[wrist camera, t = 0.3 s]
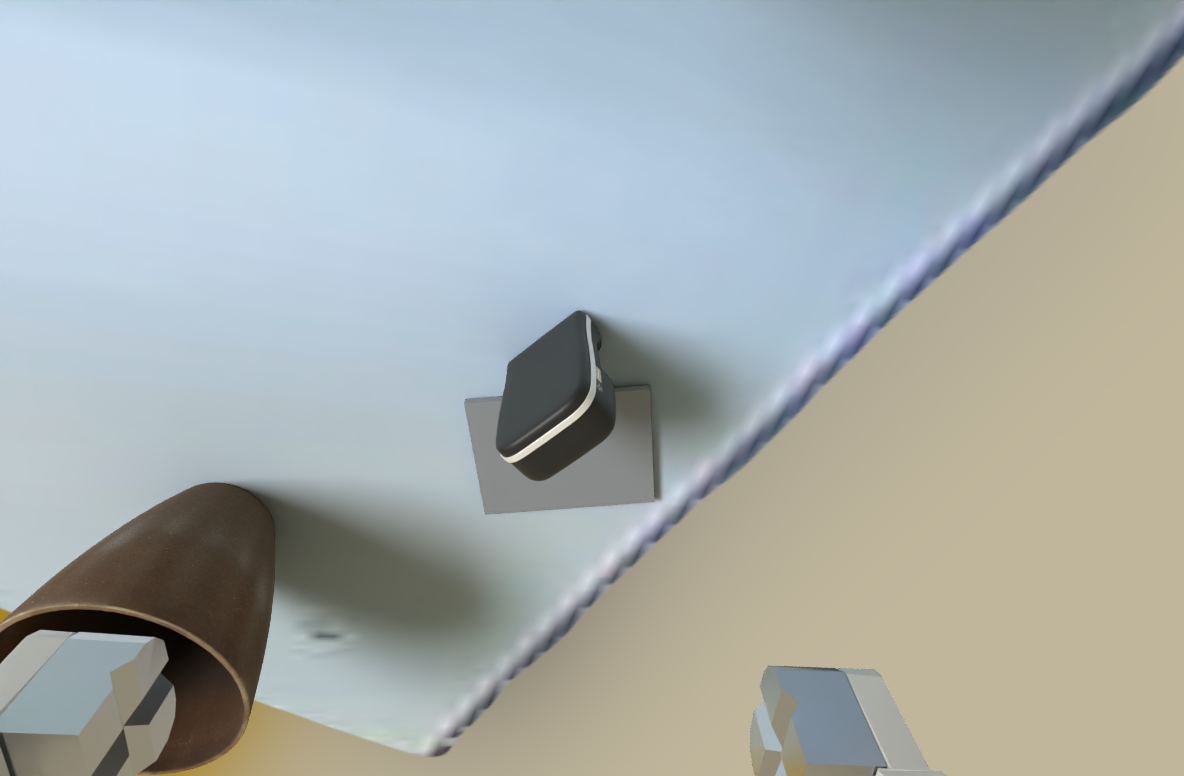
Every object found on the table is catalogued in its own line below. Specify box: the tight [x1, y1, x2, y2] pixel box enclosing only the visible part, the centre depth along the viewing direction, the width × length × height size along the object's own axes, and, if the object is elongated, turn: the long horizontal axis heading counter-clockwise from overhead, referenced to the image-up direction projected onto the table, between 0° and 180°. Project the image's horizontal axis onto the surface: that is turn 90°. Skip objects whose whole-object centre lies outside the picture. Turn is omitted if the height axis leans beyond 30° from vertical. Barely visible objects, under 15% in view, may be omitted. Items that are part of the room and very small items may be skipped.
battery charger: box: [496, 311, 616, 481], centre depth 45 cm, size 7×4×11 cm, turn 129°
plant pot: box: [0, 483, 275, 775], centre depth 50 cm, size 15×15×16 cm
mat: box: [464, 385, 654, 514], centre depth 54 cm, size 10×13×1 cm
